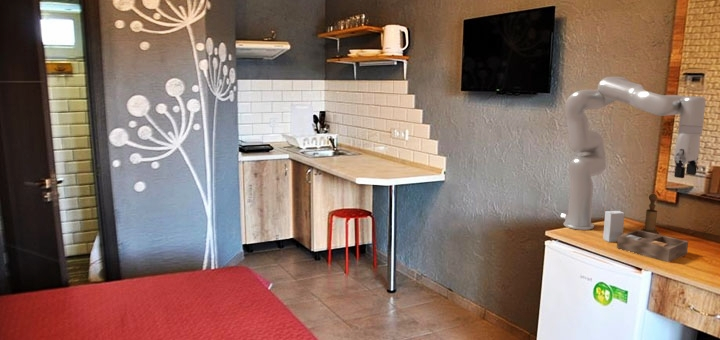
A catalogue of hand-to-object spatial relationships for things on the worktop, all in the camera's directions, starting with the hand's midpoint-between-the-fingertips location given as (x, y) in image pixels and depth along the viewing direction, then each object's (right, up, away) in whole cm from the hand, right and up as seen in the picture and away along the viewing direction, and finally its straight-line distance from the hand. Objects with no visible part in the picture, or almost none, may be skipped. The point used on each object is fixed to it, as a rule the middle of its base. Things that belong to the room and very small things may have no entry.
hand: (685, 176), depth 201 cm
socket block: (-10, -29, +5) cm, 31 cm away
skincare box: (-18, -27, +18) cm, 37 cm away
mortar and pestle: (0, -26, +24) cm, 35 cm away
